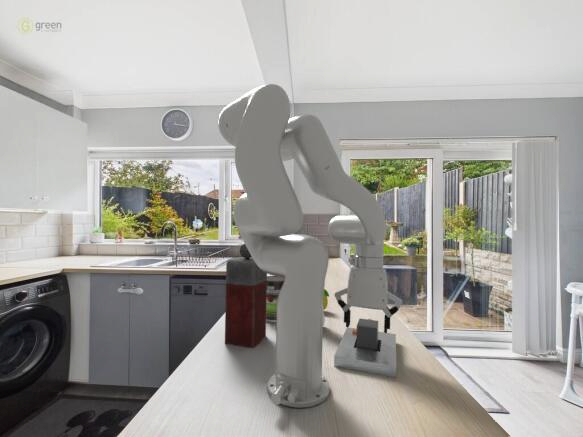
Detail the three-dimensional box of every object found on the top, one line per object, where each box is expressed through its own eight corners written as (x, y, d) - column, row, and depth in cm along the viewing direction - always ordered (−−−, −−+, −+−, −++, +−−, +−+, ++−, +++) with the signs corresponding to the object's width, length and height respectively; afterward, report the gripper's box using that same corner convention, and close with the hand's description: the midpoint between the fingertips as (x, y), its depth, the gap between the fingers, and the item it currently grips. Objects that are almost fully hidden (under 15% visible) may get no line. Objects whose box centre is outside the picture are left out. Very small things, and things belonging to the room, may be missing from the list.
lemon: (329, 314, 106) (329, 287, 107) (313, 314, 107) (313, 287, 107) (327, 309, 113) (328, 284, 113) (313, 308, 113) (313, 283, 114)
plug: (376, 360, 71) (376, 328, 71) (356, 356, 73) (356, 325, 73) (378, 346, 80) (379, 317, 80) (360, 343, 81) (360, 315, 81)
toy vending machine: (269, 333, 87) (270, 242, 88) (253, 348, 77) (255, 244, 77) (243, 329, 90) (244, 241, 91) (224, 343, 80) (226, 243, 80)
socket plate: (396, 377, 63) (396, 363, 63) (334, 366, 68) (334, 353, 68) (395, 342, 82) (395, 331, 82) (346, 335, 87) (346, 325, 87)
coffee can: (284, 323, 96) (285, 282, 96) (255, 320, 99) (256, 280, 99) (291, 314, 106) (292, 276, 106) (265, 311, 109) (266, 275, 109)
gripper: (333, 262, 75) (331, 328, 74) (403, 267, 69) (402, 339, 68) (338, 259, 82) (336, 319, 81) (402, 264, 76) (401, 329, 75)
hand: (366, 328), depth 75 cm, fingers open, 9 cm apart
